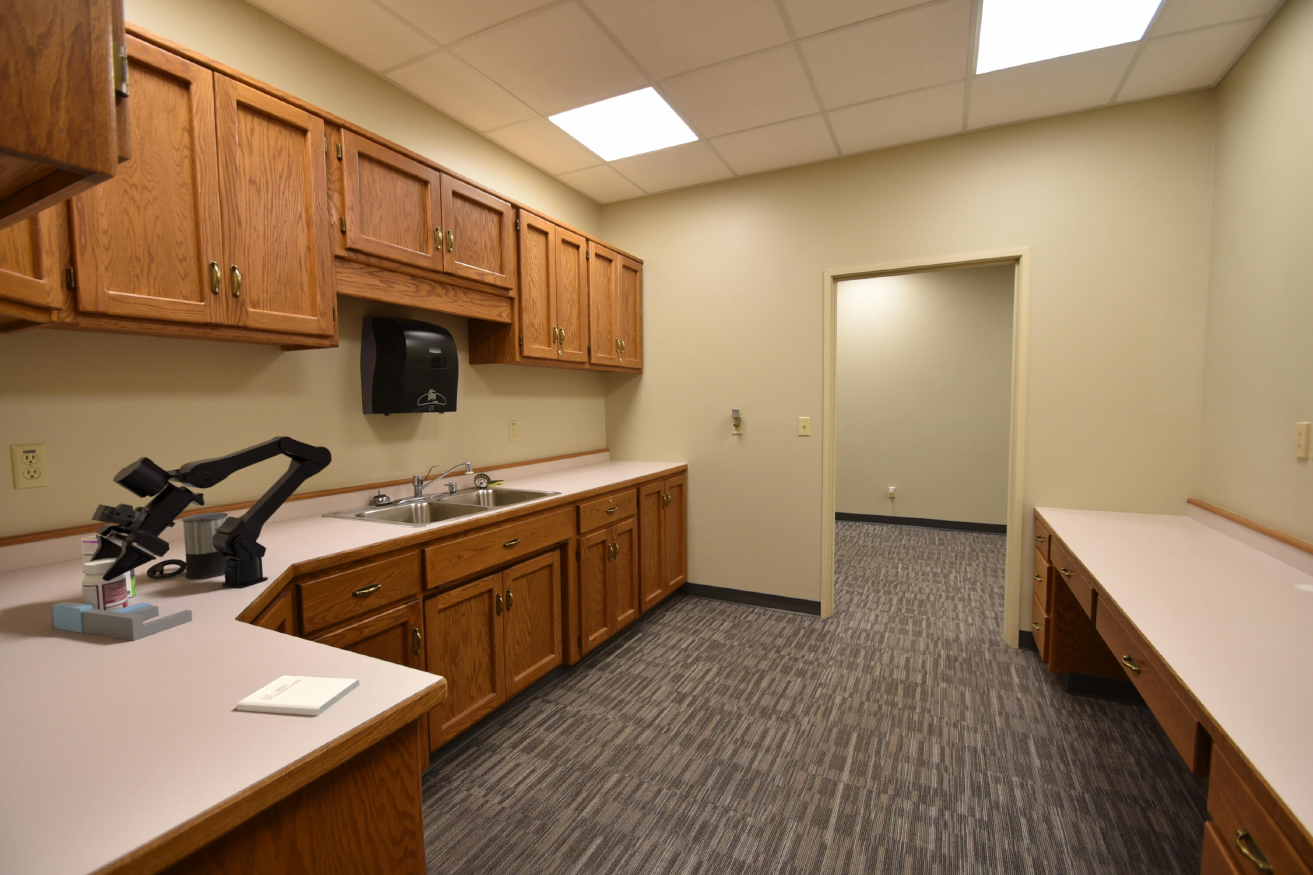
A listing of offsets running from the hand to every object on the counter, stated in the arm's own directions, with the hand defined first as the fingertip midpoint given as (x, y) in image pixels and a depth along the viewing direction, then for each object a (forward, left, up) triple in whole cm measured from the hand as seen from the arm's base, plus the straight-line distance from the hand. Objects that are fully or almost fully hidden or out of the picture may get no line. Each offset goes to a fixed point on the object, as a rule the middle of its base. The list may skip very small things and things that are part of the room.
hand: (95, 576), depth 108 cm
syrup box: (-9, -13, -9) cm, 18 cm away
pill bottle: (-1, 0, -9) cm, 9 cm away
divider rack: (-1, +6, -9) cm, 11 cm away
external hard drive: (+11, +65, -10) cm, 67 cm away
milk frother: (-26, -15, -9) cm, 32 cm away
